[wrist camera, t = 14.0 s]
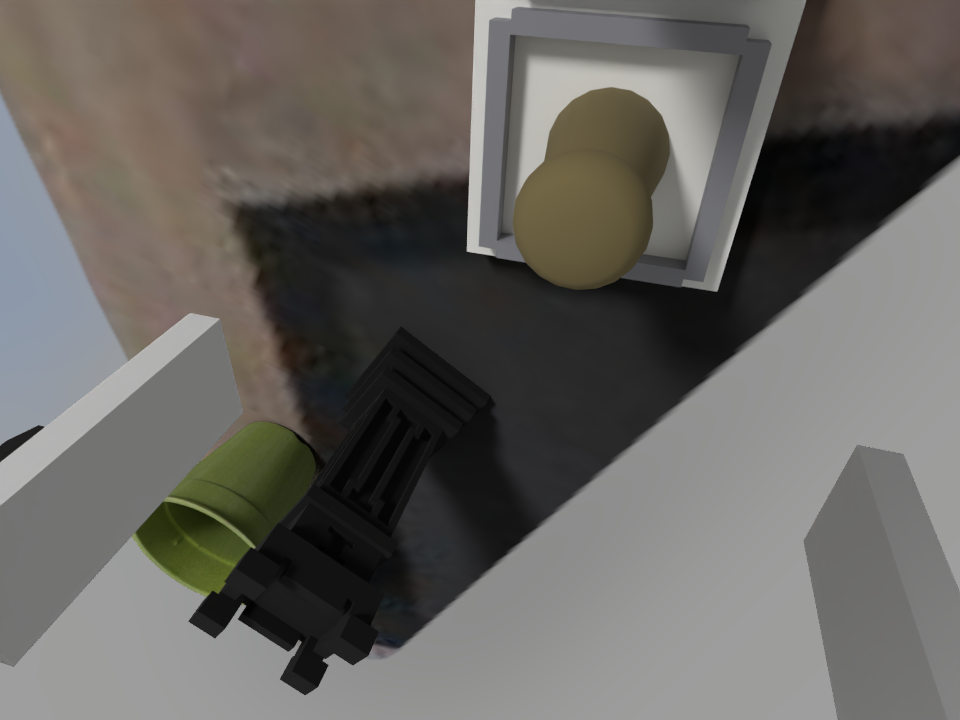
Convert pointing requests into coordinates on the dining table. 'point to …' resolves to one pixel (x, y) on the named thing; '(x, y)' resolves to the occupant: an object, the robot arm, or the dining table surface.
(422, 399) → the chess piece
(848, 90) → the dining table surface
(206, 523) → the plant pot
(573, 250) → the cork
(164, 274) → the dining table surface
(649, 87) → the pin board
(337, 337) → the dining table surface
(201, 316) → the robot arm
